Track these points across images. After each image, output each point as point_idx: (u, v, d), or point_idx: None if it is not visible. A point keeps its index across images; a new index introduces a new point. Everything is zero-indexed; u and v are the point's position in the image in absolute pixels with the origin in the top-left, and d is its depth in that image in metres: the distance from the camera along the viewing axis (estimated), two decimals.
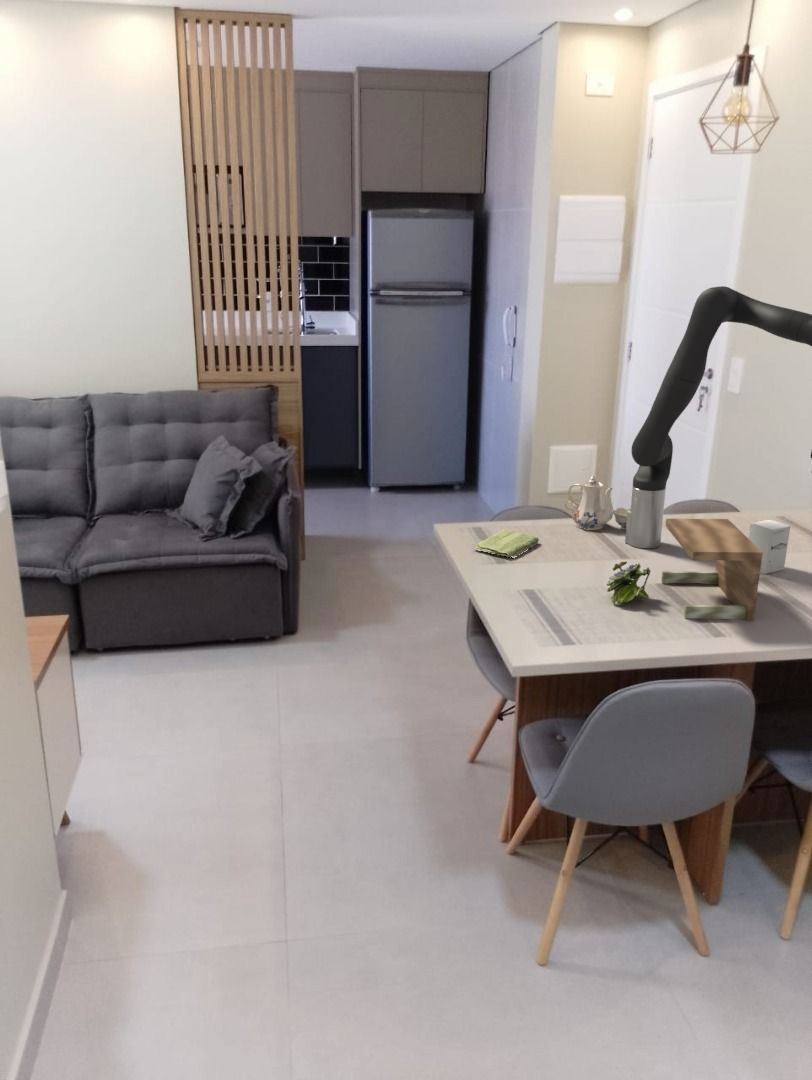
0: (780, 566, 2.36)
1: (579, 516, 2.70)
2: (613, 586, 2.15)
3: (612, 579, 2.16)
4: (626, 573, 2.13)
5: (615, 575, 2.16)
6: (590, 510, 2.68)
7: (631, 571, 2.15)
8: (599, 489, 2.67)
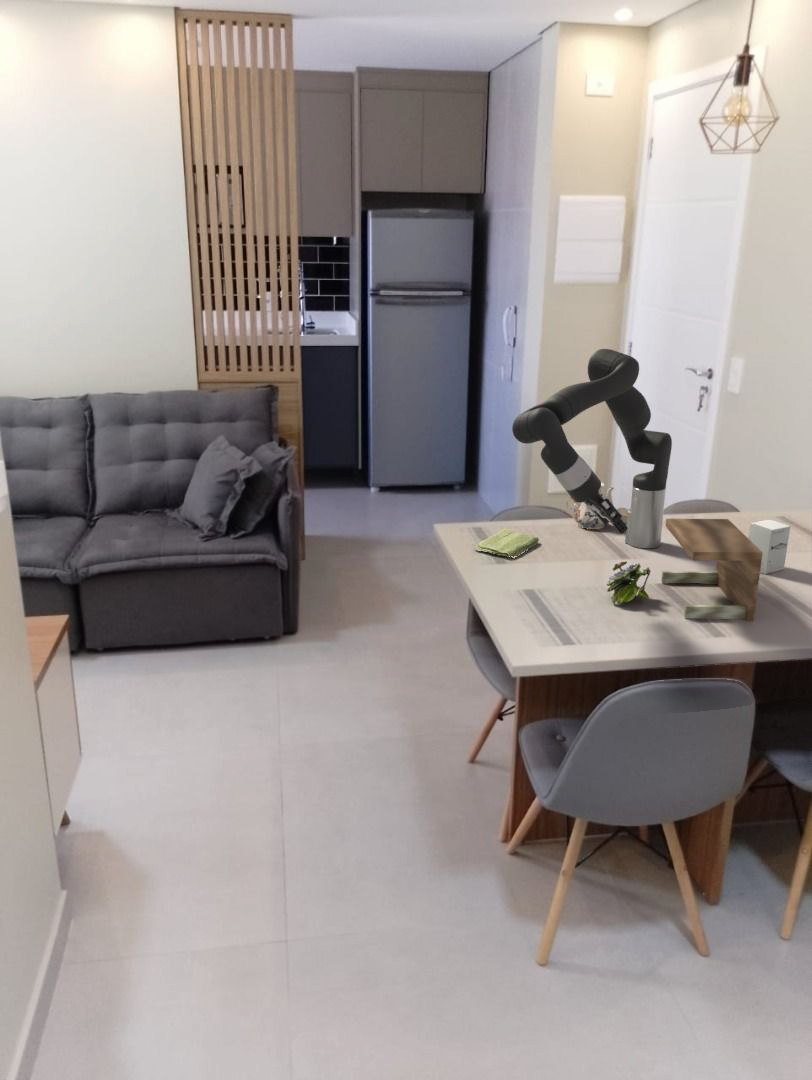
0: (780, 566, 2.36)
1: (580, 515, 2.71)
2: (613, 586, 2.15)
3: (612, 579, 2.16)
4: (626, 573, 2.13)
5: (615, 575, 2.16)
6: None
7: (631, 571, 2.15)
8: (600, 489, 2.68)
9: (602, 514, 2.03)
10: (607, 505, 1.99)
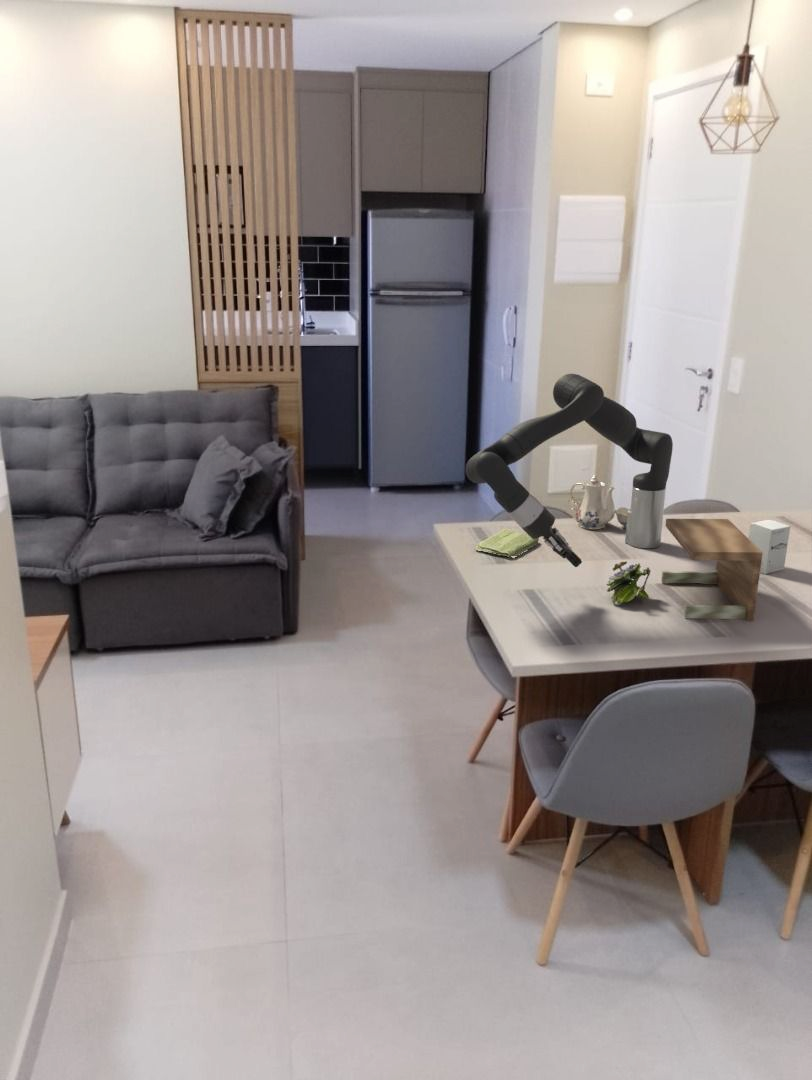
0: (780, 566, 2.36)
1: (580, 515, 2.71)
2: (613, 586, 2.15)
3: (612, 579, 2.17)
4: (626, 573, 2.13)
5: (615, 575, 2.16)
6: (591, 510, 2.69)
7: (631, 571, 2.15)
8: (601, 488, 2.68)
9: None
10: (561, 549, 2.09)
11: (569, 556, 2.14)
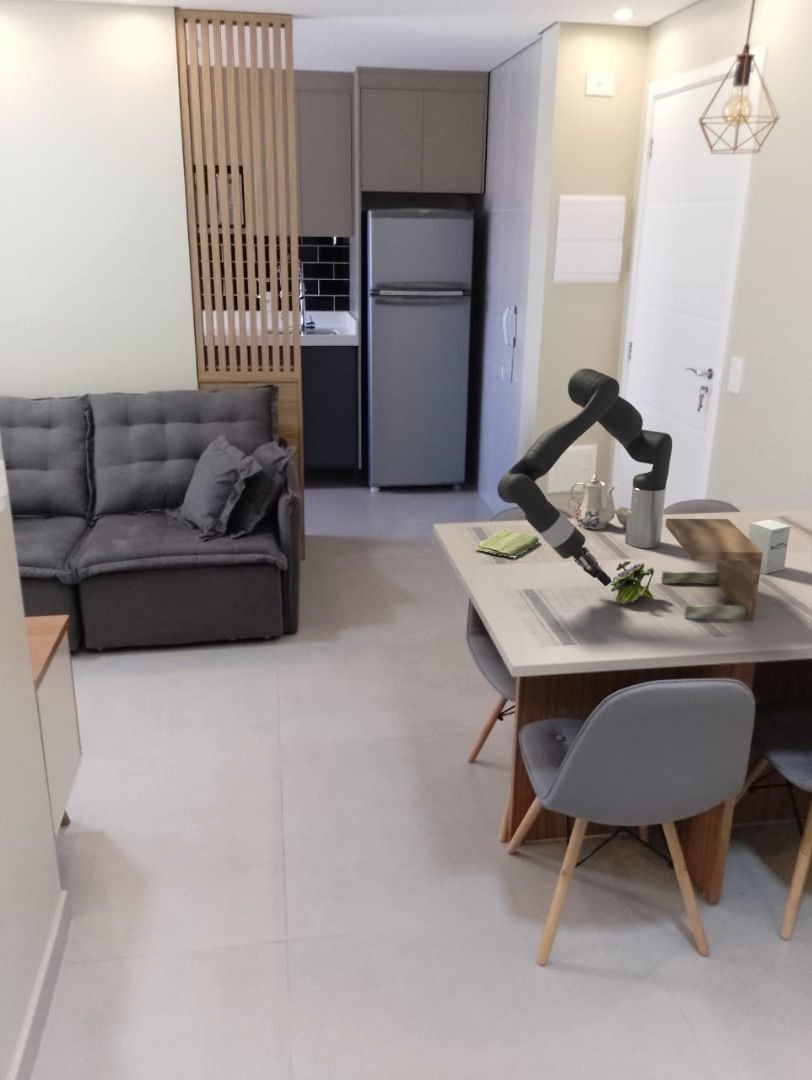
0: (780, 566, 2.36)
1: (581, 515, 2.71)
2: (617, 586, 2.15)
3: (616, 579, 2.16)
4: (630, 573, 2.13)
5: (619, 575, 2.16)
6: (592, 509, 2.69)
7: (635, 571, 2.15)
8: (601, 488, 2.68)
9: None
10: (591, 569, 2.10)
11: (599, 575, 2.15)
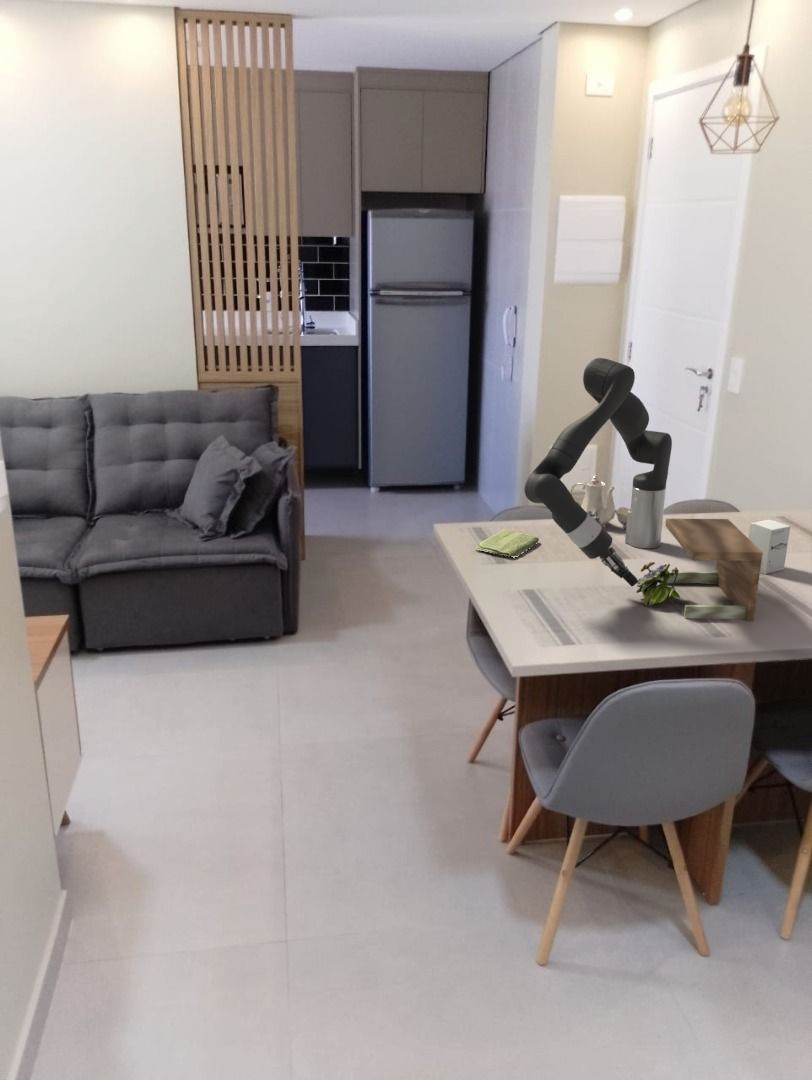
0: (780, 566, 2.36)
1: None
2: (644, 587, 2.14)
3: (642, 580, 2.16)
4: (658, 574, 2.12)
5: (645, 576, 2.15)
6: (592, 509, 2.69)
7: (661, 571, 2.15)
8: (601, 488, 2.68)
9: None
10: (618, 569, 2.10)
11: (626, 576, 2.15)
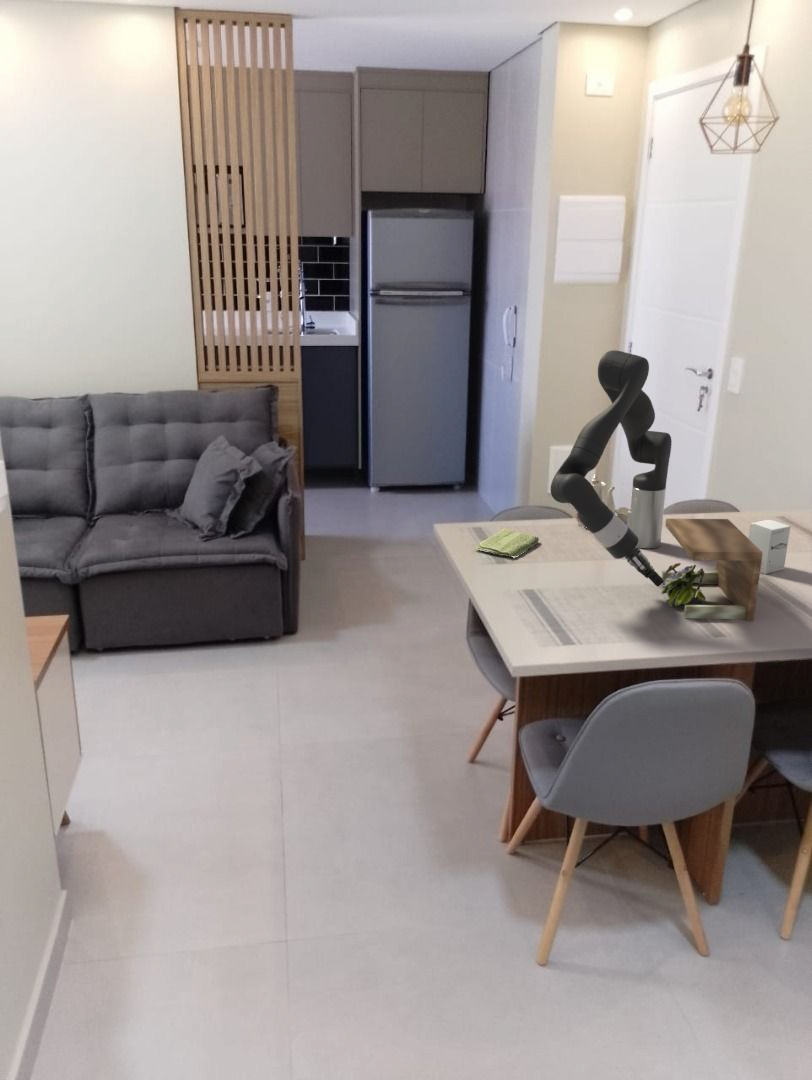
0: (780, 566, 2.36)
1: None
2: (670, 588, 2.13)
3: (668, 581, 2.15)
4: (683, 575, 2.11)
5: (670, 577, 2.15)
6: None
7: (687, 573, 2.14)
8: (601, 488, 2.68)
9: None
10: (645, 569, 2.10)
11: (651, 576, 2.15)
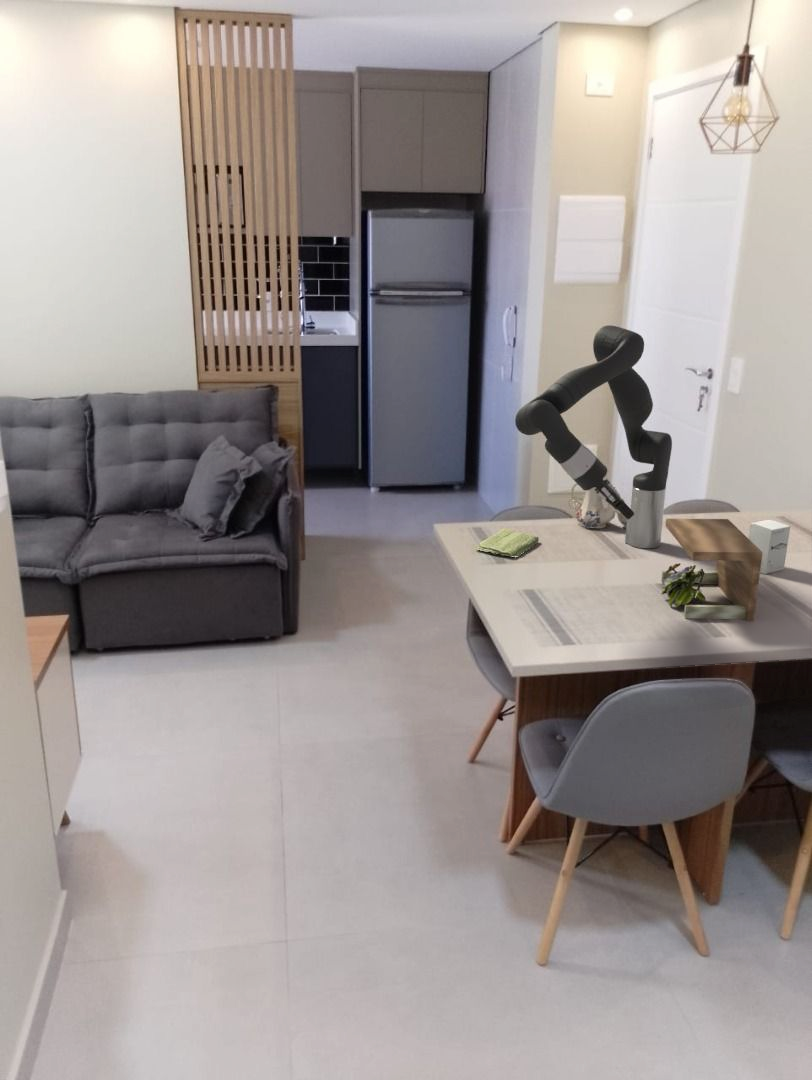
0: (780, 566, 2.36)
1: (581, 514, 2.71)
2: (670, 589, 2.13)
3: (668, 581, 2.15)
4: (683, 575, 2.11)
5: (670, 577, 2.15)
6: (592, 509, 2.70)
7: (687, 573, 2.14)
8: None
9: (609, 502, 2.09)
10: (614, 499, 2.05)
11: (621, 508, 2.09)
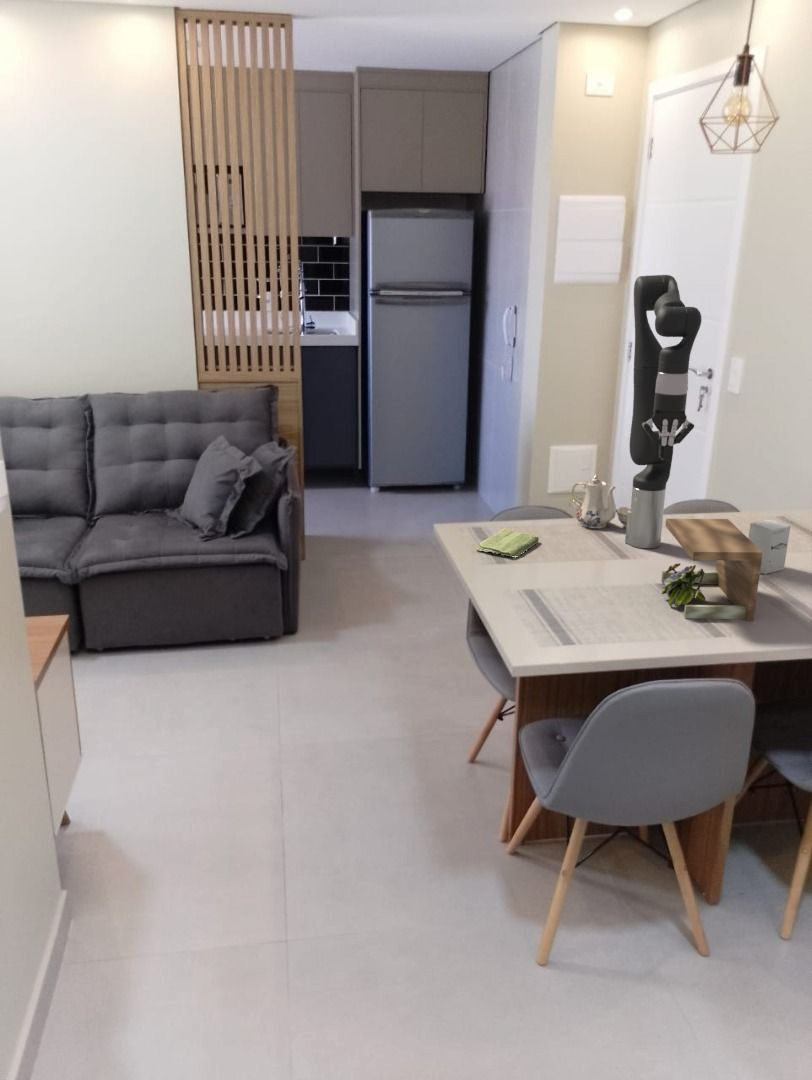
0: (780, 566, 2.36)
1: (581, 514, 2.71)
2: (670, 589, 2.13)
3: (667, 581, 2.15)
4: (683, 575, 2.11)
5: (670, 577, 2.15)
6: (592, 509, 2.70)
7: (687, 573, 2.14)
8: (602, 488, 2.69)
9: None
10: None
11: None
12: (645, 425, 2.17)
